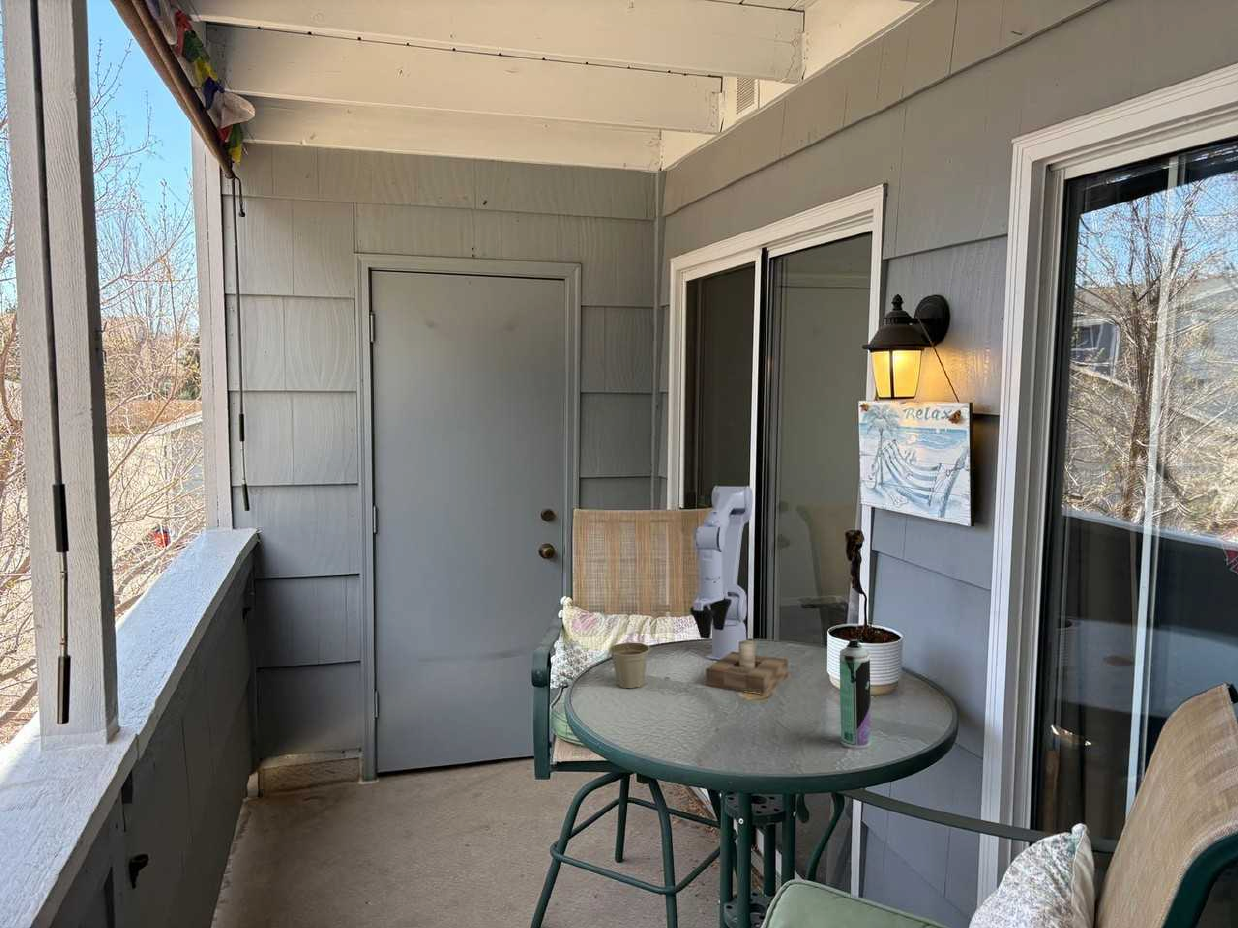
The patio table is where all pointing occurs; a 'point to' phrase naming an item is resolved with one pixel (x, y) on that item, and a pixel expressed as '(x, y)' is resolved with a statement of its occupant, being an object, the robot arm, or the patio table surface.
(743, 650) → the peg
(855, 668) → the spray can
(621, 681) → the flower pot
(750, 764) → the patio table surface
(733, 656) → the socket block
